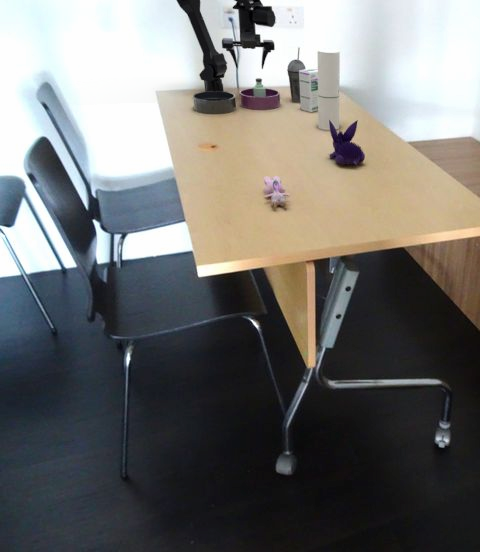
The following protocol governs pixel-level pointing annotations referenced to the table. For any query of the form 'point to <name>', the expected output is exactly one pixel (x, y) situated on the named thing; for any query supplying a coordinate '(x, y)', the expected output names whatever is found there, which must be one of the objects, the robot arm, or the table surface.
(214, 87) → the robot arm
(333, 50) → the cylindrical container
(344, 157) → the creature
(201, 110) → the charcoal bowl
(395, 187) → the table surface
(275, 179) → the rabbit figure
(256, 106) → the plum bowl
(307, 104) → the syrup box
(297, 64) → the beverage cup
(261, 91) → the bottle
